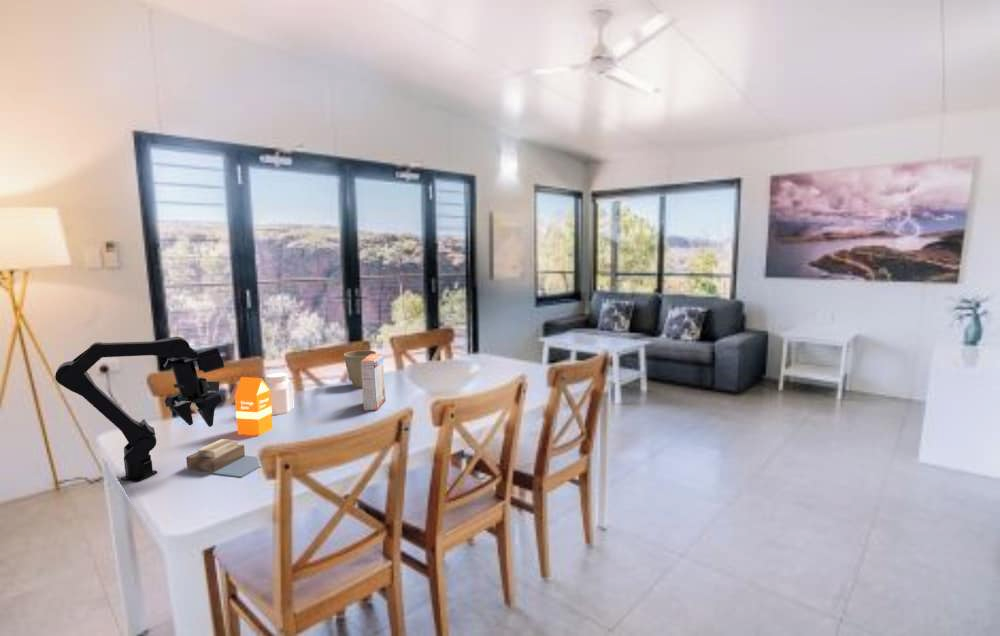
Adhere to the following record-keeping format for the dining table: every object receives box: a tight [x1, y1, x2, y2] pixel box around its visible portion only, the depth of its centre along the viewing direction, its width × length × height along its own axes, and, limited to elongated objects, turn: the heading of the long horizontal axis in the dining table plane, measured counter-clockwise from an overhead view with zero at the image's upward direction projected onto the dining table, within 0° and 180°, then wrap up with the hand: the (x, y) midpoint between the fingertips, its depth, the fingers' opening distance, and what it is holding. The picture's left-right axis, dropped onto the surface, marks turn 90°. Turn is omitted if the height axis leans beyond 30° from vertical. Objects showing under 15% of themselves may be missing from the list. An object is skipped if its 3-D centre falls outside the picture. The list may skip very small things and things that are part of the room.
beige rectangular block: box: [197, 438, 239, 458], centre depth 156 cm, size 6×9×2 cm, turn 165°
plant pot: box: [343, 349, 377, 389], centre depth 246 cm, size 15×15×16 cm
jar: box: [265, 372, 295, 416], centre depth 209 cm, size 12×10×15 cm
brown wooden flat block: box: [185, 444, 246, 474], centre depth 157 cm, size 10×12×4 cm
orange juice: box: [234, 376, 273, 436], centre depth 184 cm, size 8×9×20 cm
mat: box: [212, 455, 261, 478], centre depth 155 cm, size 10×13×1 cm
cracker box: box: [361, 353, 386, 411], centre depth 213 cm, size 14×6×21 cm, turn 178°
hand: (200, 425), depth 157 cm, fingers open, 9 cm apart
